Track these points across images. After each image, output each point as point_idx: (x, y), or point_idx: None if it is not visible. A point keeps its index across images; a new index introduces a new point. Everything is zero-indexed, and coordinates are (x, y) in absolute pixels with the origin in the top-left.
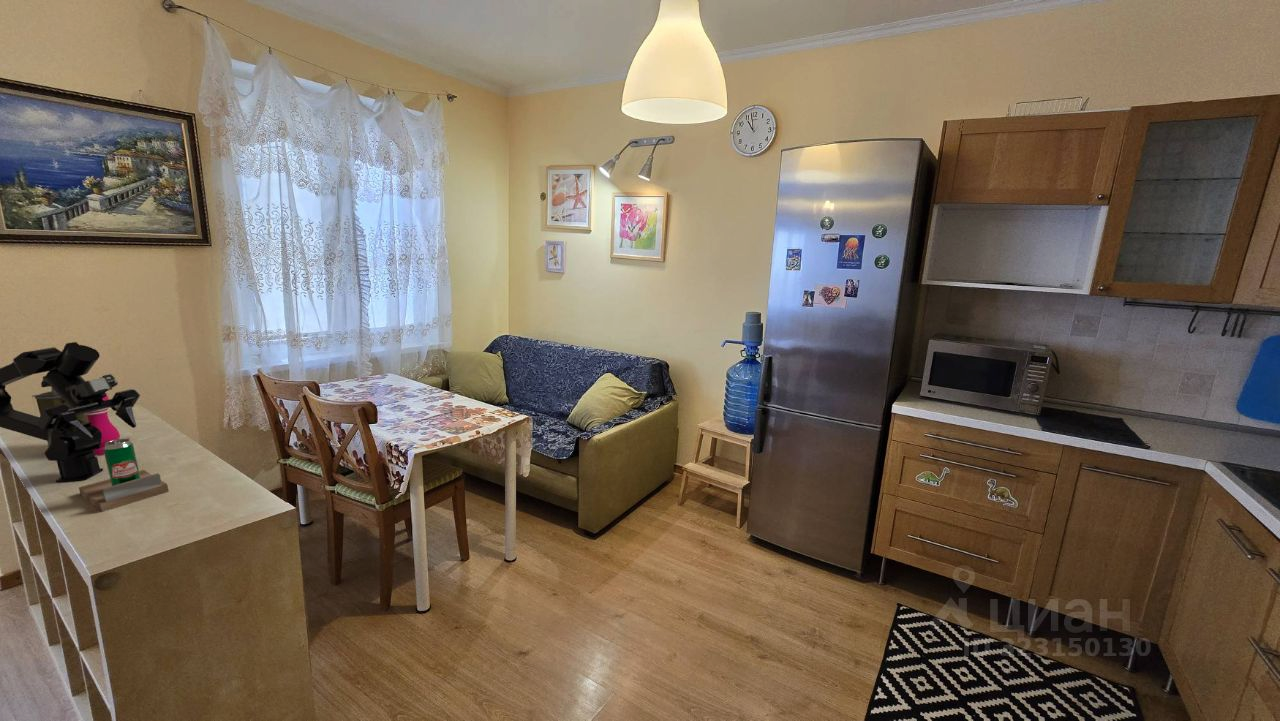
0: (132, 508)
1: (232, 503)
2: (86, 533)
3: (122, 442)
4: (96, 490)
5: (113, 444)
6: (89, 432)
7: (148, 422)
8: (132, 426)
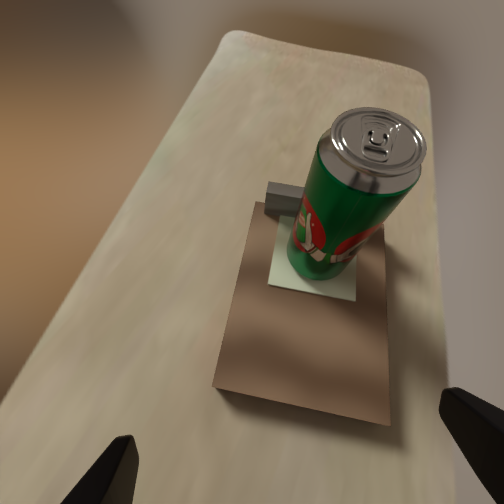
0: None
1: (243, 85)
2: None
3: (367, 113)
4: (364, 329)
5: (398, 122)
6: (495, 424)
7: None
8: (134, 470)
